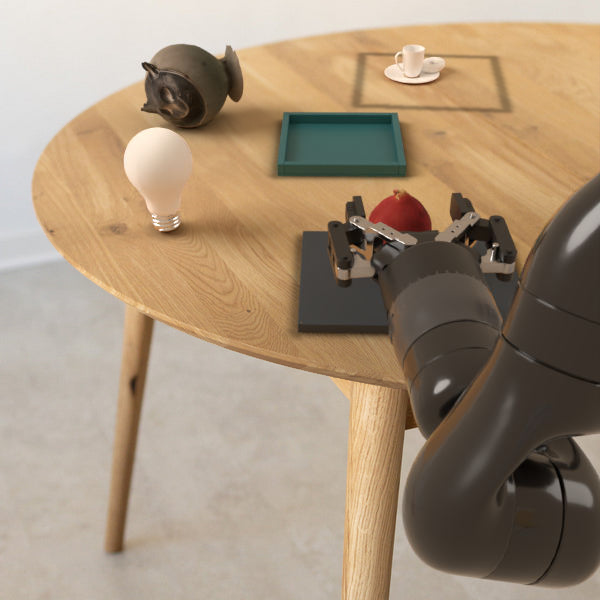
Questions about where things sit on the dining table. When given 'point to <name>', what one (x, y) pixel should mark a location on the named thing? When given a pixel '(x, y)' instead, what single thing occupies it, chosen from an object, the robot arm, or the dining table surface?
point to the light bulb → (159, 173)
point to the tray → (341, 145)
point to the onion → (401, 213)
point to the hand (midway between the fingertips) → (405, 203)
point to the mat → (357, 293)
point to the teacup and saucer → (415, 66)
